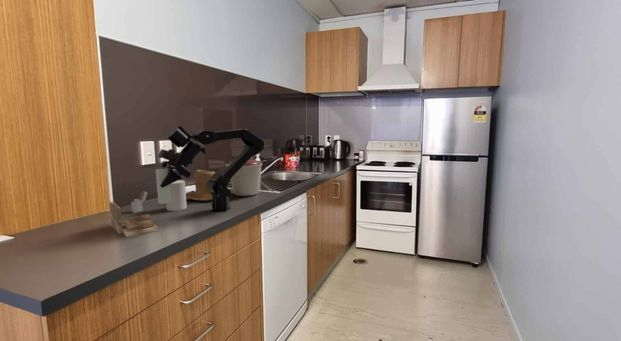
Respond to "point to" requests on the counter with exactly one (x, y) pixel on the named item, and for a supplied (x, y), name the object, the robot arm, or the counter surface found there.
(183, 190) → the cup
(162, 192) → the pale green upright block
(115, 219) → the rack
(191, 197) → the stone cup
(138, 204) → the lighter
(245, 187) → the canister
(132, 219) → the offcut stack
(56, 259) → the counter surface
